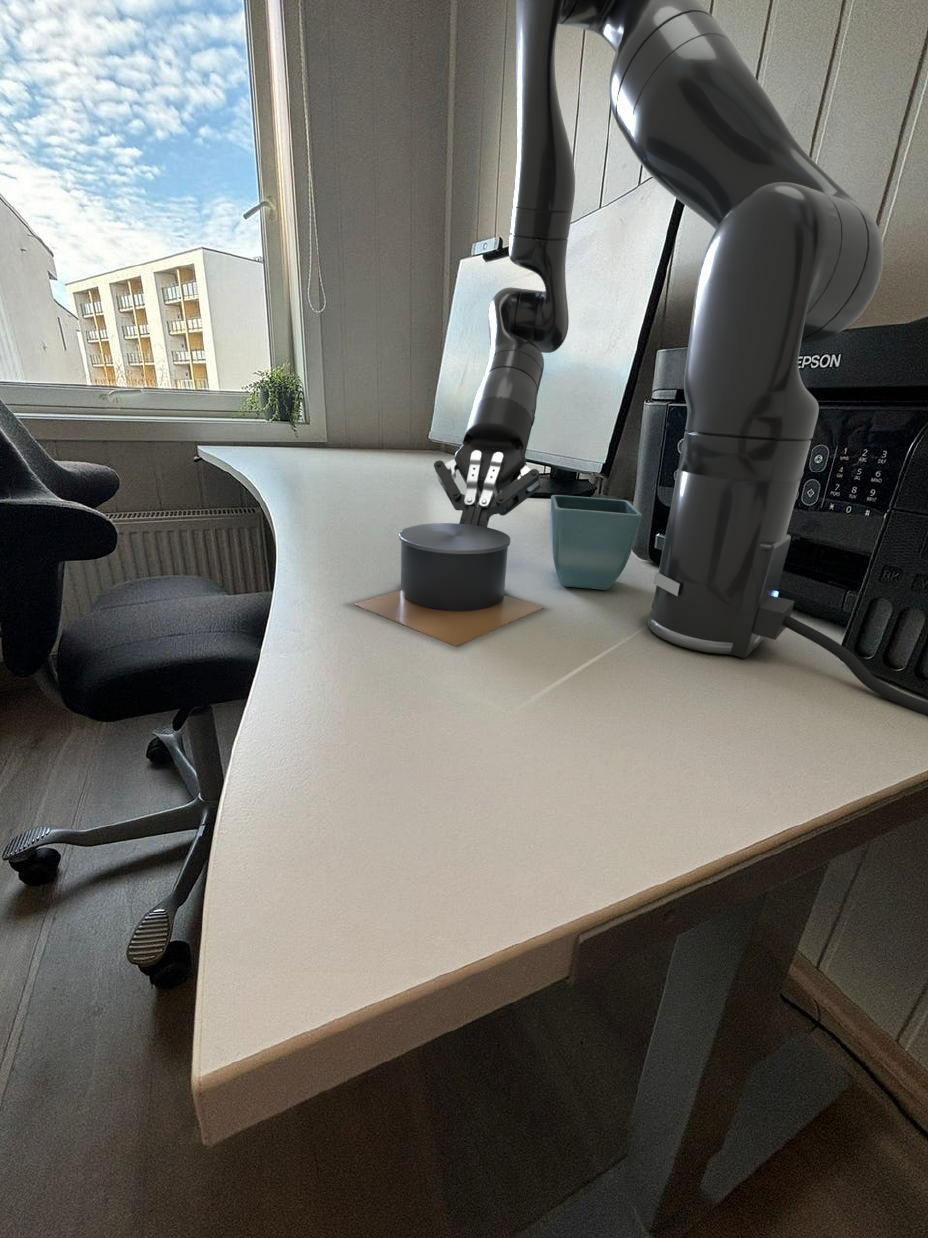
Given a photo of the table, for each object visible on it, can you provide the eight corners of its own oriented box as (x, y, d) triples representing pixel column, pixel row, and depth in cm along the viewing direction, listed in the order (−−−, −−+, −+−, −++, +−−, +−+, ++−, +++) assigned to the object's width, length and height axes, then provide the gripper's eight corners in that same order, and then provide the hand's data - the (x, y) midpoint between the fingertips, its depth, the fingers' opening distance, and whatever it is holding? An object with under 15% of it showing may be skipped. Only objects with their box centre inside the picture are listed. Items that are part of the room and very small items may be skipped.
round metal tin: (526, 593, 59) (531, 537, 57) (460, 621, 51) (463, 556, 49) (446, 570, 65) (448, 518, 63) (376, 591, 57) (375, 533, 55)
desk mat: (543, 609, 55) (543, 607, 55) (456, 647, 46) (456, 645, 46) (445, 577, 63) (445, 576, 63) (353, 605, 54) (353, 603, 54)
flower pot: (616, 574, 68) (628, 498, 64) (629, 599, 59) (643, 514, 56) (542, 568, 68) (550, 493, 65) (545, 592, 60) (554, 508, 57)
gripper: (443, 391, 66) (404, 514, 60) (556, 397, 63) (526, 528, 57) (455, 435, 73) (420, 550, 67) (557, 443, 70) (530, 565, 64)
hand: (469, 540), depth 62 cm, fingers closed
